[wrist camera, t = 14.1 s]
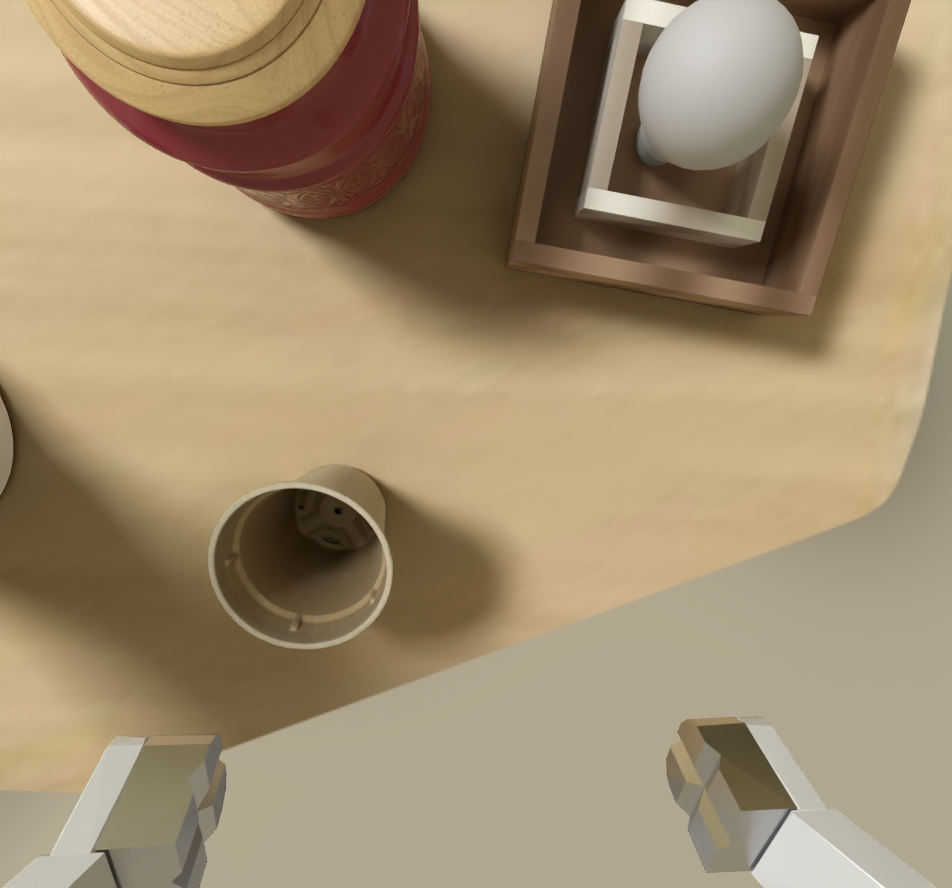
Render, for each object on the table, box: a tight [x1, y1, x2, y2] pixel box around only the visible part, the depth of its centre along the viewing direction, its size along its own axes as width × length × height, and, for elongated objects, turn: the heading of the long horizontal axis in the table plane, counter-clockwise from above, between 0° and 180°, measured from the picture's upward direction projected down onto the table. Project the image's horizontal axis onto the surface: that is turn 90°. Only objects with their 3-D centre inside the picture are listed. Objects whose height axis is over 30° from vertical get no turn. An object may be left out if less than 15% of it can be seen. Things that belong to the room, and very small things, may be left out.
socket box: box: [505, 0, 911, 316], centre depth 28 cm, size 16×16×5 cm
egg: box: [634, 0, 804, 170], centre depth 24 cm, size 6×6×11 cm
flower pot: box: [208, 465, 393, 649], centre depth 31 cm, size 9×9×9 cm
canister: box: [26, 0, 431, 218], centre depth 21 cm, size 13×13×18 cm
